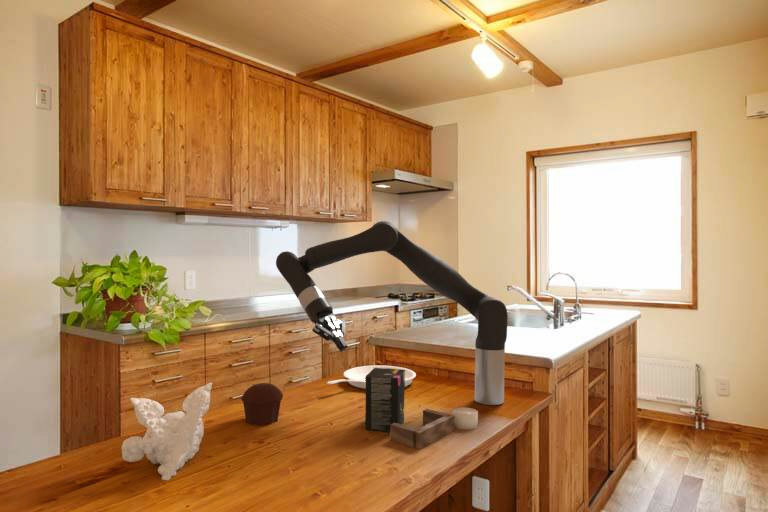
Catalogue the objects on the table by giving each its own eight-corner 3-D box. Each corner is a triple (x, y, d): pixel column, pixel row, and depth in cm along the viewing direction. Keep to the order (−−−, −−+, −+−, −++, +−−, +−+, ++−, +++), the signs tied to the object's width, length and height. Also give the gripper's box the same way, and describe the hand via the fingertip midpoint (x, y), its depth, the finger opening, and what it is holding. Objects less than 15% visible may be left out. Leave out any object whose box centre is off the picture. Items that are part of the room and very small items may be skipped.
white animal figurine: (209, 400, 133) (212, 374, 117) (216, 482, 124) (220, 466, 108) (128, 412, 126) (119, 386, 110) (128, 500, 117) (119, 486, 101)
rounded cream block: (460, 419, 149) (460, 405, 149) (482, 425, 144) (482, 410, 144) (447, 426, 143) (447, 411, 143) (470, 431, 139) (470, 416, 139)
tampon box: (398, 433, 137) (399, 377, 137) (364, 430, 139) (365, 375, 138) (405, 420, 148) (405, 368, 147) (373, 417, 149) (374, 366, 149)
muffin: (269, 411, 154) (270, 377, 154) (291, 420, 146) (291, 384, 146) (233, 420, 146) (233, 384, 145) (253, 430, 138) (254, 392, 138)
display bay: (426, 423, 145) (426, 408, 145) (454, 430, 139) (455, 415, 139) (390, 440, 131) (390, 424, 131) (419, 449, 126) (419, 432, 126)
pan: (430, 382, 190) (430, 369, 190) (356, 405, 161) (356, 390, 161) (377, 371, 208) (377, 359, 207) (301, 389, 179) (301, 376, 179)
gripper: (305, 297, 153) (335, 344, 145) (336, 294, 163) (365, 338, 156) (293, 314, 156) (321, 360, 149) (323, 310, 167) (352, 353, 159)
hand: (344, 349), depth 152 cm, fingers closed
